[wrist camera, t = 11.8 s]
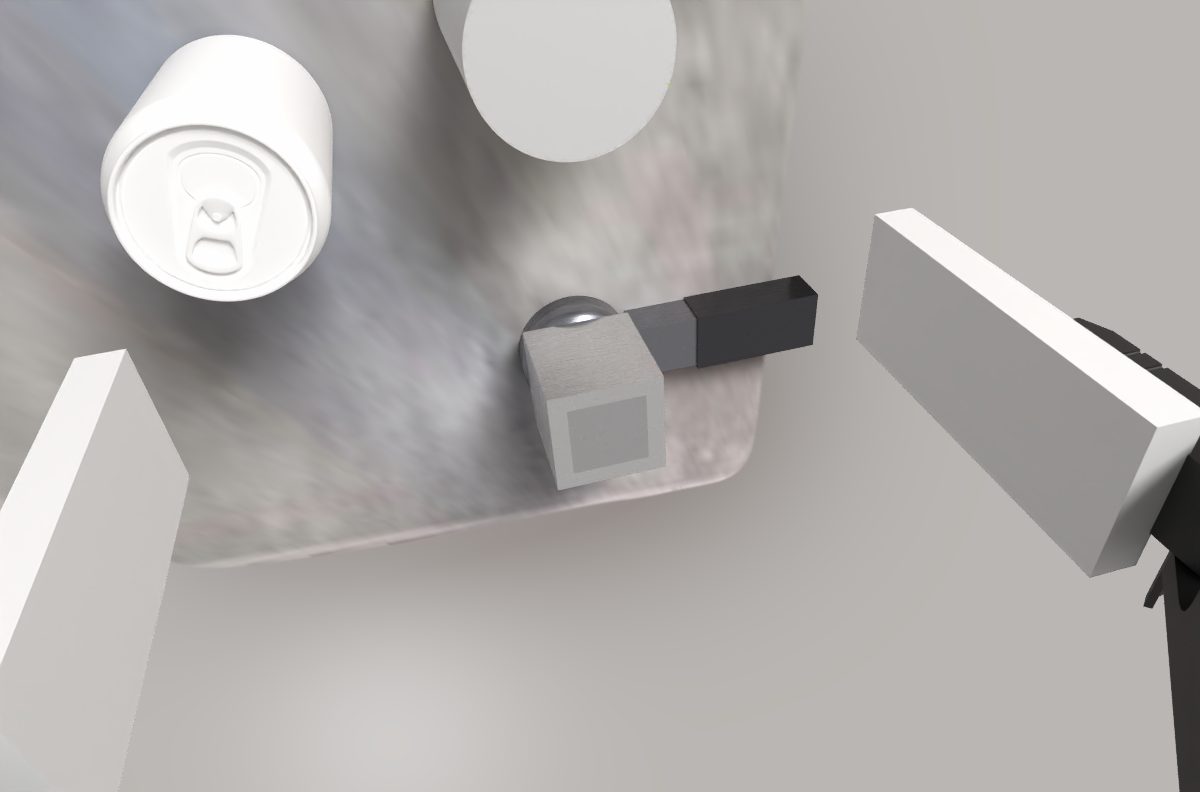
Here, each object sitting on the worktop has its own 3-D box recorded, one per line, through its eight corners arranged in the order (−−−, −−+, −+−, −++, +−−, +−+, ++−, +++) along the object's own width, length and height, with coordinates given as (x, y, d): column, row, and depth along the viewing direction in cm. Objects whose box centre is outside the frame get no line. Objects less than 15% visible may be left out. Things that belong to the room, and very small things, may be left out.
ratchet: (525, 399, 53) (548, 471, 48) (512, 307, 49) (535, 374, 43) (792, 344, 57) (845, 405, 51) (801, 253, 52) (859, 309, 46)
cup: (493, 113, 42) (537, 200, 33) (396, -36, 37) (415, 16, 28) (625, 24, 41) (709, 87, 32) (543, -141, 36) (614, -124, 27)
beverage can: (342, 56, 39) (344, 134, 30) (322, 212, 43) (318, 325, 34) (153, 10, 36) (87, 80, 27) (151, 182, 40) (93, 296, 31)
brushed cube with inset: (534, 417, 51) (558, 490, 46) (522, 332, 47) (546, 400, 42) (631, 397, 52) (665, 466, 47) (627, 312, 49) (663, 376, 43)
